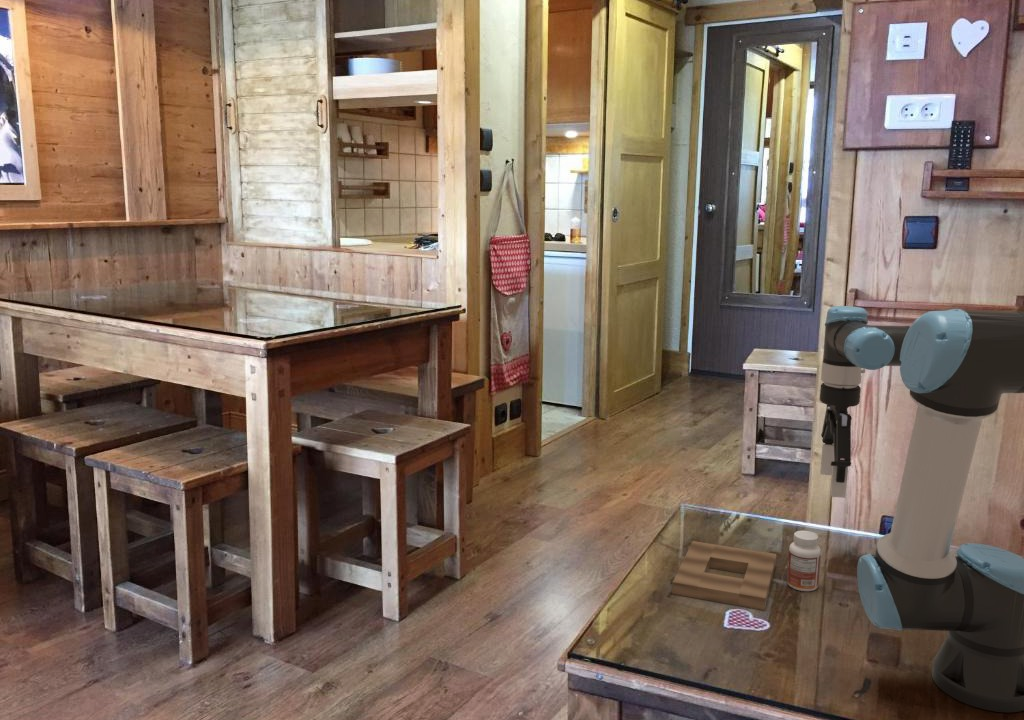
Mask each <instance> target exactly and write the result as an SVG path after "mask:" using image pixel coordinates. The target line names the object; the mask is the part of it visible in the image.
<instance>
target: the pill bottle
mask: <svg viewBox="0 0 1024 720" xmlns="http://www.w3.org/2000/svg"><path fill="white" fill-rule="evenodd" d="M818 543H819V535H818V534H817V533H815V532H813V531H810V530H797V531H795V532H794V534H793V542H791V543H790V545H789V547H788V548H789V549H788V557H787V558H788V560H787V561H788V562H787V573H786V576H787V577H786V583H787V585H788V586H789V587H790V588H791V589H794V590H797V591H801V592H812V591H815V590H817V589H818V587H819V583H820V582H819V581H820V580H819V579H820V568H821V558H822V556H821V554H822V550H821V548H820V546H819V545H818Z"/></svg>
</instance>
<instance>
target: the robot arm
mask: <svg viewBox="0 0 1024 720" xmlns="http://www.w3.org/2000/svg"><path fill="white" fill-rule="evenodd" d="M824 328H825V330H824V340H823V341H824V343H823V352H822V353H823V355H822V356H823V359H822V361H821V362H822V363H821V375H820V380H821V382H822V383H820V389H819V391H820V392H819V401H820V402H821V403H822V404H825V405H826V406H825V407H826V409H825V413H824V415H825V416H824V420H823V425H822V430H821V435H820V436H821V438H822V439H821V440H822V445H821V446H822V447H821V459H820V460H821V461H820V470H819V474H820V475H823V476H831V481H830V482H831V483H830V494H829V496H830V497H831V498H843V499H846V496H847V495H846V493H847V481H848V472H849V467H851V466H852V462H851V461H852V460H851V459H852V454H851V453H852V451H851V449H852V448H851V447H852V444H851V440H852V439H851V438H852V436H851V434H852V433H851V431H852V430H851V428H852V427H851V426H852V419H853V418H852V415H850V414H849V411H848V408H850V407H856V406H858V405H859V404H860V400H861V391H862V390H861V389H862V388H861V387H860V385H861V383H862V374H865V373H866V370H868V371H869V370H870V371H874V370H875V371H877V370H880V369H882V368H885V367H899V371H900V372H899V373H900V376H901V381H902V383H903V385H905V387H906V388H907V390H909V397H910V398H911V400H912V401H913V402H914V403H915V404H916V405H917V409H916V414H915V418H914V423H913V428H912V433H911V437H910V440H909V441H910V442H909V446H908V451H907V456H906V459H905V464H904V468H903V469H904V470H903V473H902V478H901V483H900V488H899V493H898V497H897V501H896V505H895V511H894V515H893V518H892V519H893V520H892V523H891V524H892V525H891V529H890V532H889V533H886V534H884V535H883V536H881V537H880V538H879V540H878V541H877V544H876V549H875V553H874V554H871V553H867V554H864V555H862V556H860V557H859V559H858V562H857V566H856V567H857V568H856V576H857V577H856V578H857V579H856V580H857V587H858V593H859V596H860V601H861V604H862V607H863V610H864V613H865V614H866V616H867V618H868V620H869V621H870V623H872V624H873V625H874V626H876V627H878V628H880V629H884V630H885V629H886V630H896V631H899V632H902V631H908V630H910V631H941V632H942V631H945V632H946V631H947V635H946V636H945V638H944V640H943V642H942V644H941V646H940V647H939V649H938V651H937V652H936V655H935V657H934V658H933V661H932V668H931V678H932V680H933V682H934V683H935V685H936V687H938V689H940V690H942V692H943V693H945V694H947V695H948V696H949V697H951V698H953V699H954V700H957V701H959V702H961V703H963V704H966V705H968V706H971V707H974V708H977V709H980V710H985V711H990V712H996V713H997V712H998V713H1018V712H1022V711H1024V558H1023V557H1022V556H1020V555H1018V554H1016V553H1015V552H1011V551H1009V550H1006V549H1003V548H1000V547H997V546H992V545H989V544H983V543H979V542H978V543H977V542H966V543H964V544H961V545H960V546H958V549H957V550H956V555H954V552H952V550H951V549H950V548H951V545H952V544H951V543H952V540H953V536H954V532H955V529H956V524H957V520H958V516H959V513H960V509H961V505H962V500H963V497H964V493H965V489H966V485H967V481H968V477H969V474H970V470H971V464H972V461H973V458H974V457H973V456H974V453H975V450H976V445H977V442H978V438H979V434H980V429H981V426H982V422H983V420H984V419H987V418H988V417H992V416H993V415H994V414H996V413H997V411H998V408H999V404H1000V400H1001V396H1002V395H1003V394H1024V310H1018V311H1017V310H975V309H974V310H969V309H968V310H966V309H962V308H961V309H960V308H953V309H948V310H933V311H928V312H925V313H923V314H922V315H920V316H919V317H917V318H916V319H915V320H914V321H913V322H912V324H911V325H875V324H874V325H873V324H872V325H869V321H868V311H867V310H866V309H865V308H863V307H859V306H851V305H850V306H849V305H835V306H831V307H830V308H828V309H827V312H826V318H825V323H824Z"/></svg>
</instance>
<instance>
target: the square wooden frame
mask: <svg viewBox="0 0 1024 720" xmlns="http://www.w3.org/2000/svg"><path fill="white" fill-rule="evenodd" d="M776 565H777V553H771V552H767V551H766V552H765V551H759V550H753V549H746V548H739V547H733V546H727V545H721V544H720V545H719V544H715V543H708V542H701V541H695V540H692V541H691V543H690V546H689V548H688V550H687V552H686V554H685V556H684V558H683V560H682V562H681V564H680V566H679V568H678V570H677V572H676V574H675V576H674V579H673V580H672V588H671V595H672V594H673V595H678V596H683V597H689V598H693V599H700V600H703V601H710V602H717V603H722V604H726V605H732V606H738V607H744V608H750V609H755V610H761V611H766V606H767V602H768V598H769V594H770V591H771V586H772V583H773V582H772V581H773V578H774V574H775V571H776ZM710 569H715V570H720V571H727V572H731V573H732V572H733V573H738V574H739V573H740V574H743V575H744V577H743V578H740V577H735V576H729V575H723V574H719V573H718V574H716V573H711V572H709V571H710Z"/></svg>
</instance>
